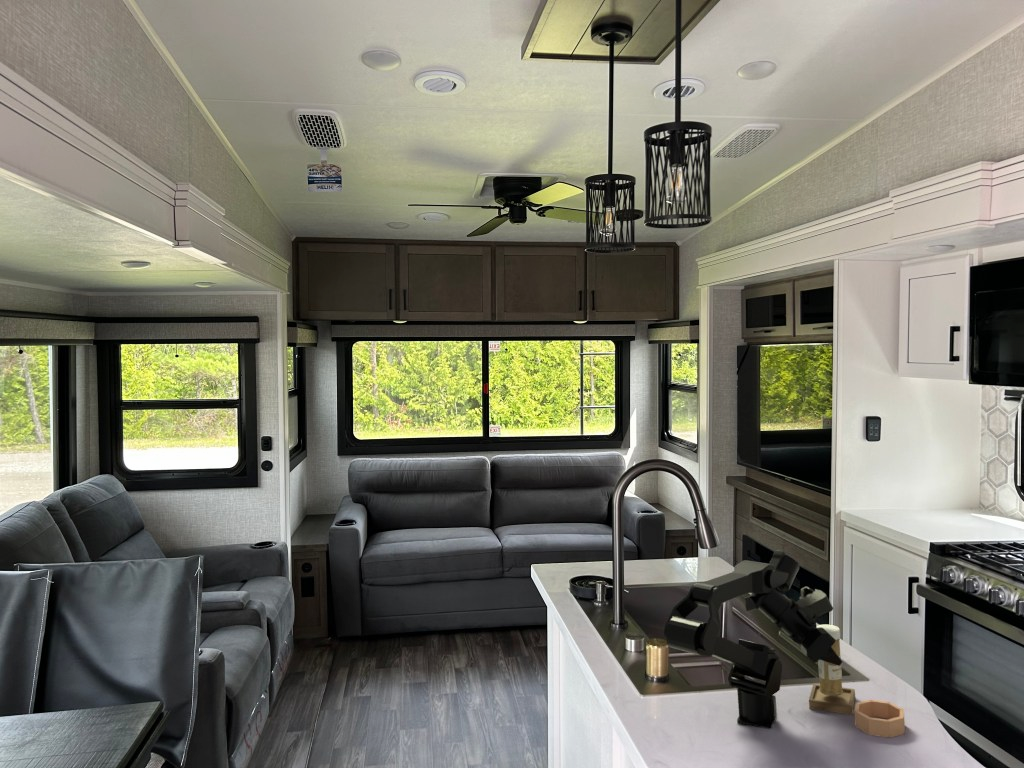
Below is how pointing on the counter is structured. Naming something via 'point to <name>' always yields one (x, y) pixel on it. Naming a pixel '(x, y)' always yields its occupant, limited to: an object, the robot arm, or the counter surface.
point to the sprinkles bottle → (831, 666)
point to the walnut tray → (832, 701)
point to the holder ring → (876, 725)
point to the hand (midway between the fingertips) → (836, 659)
